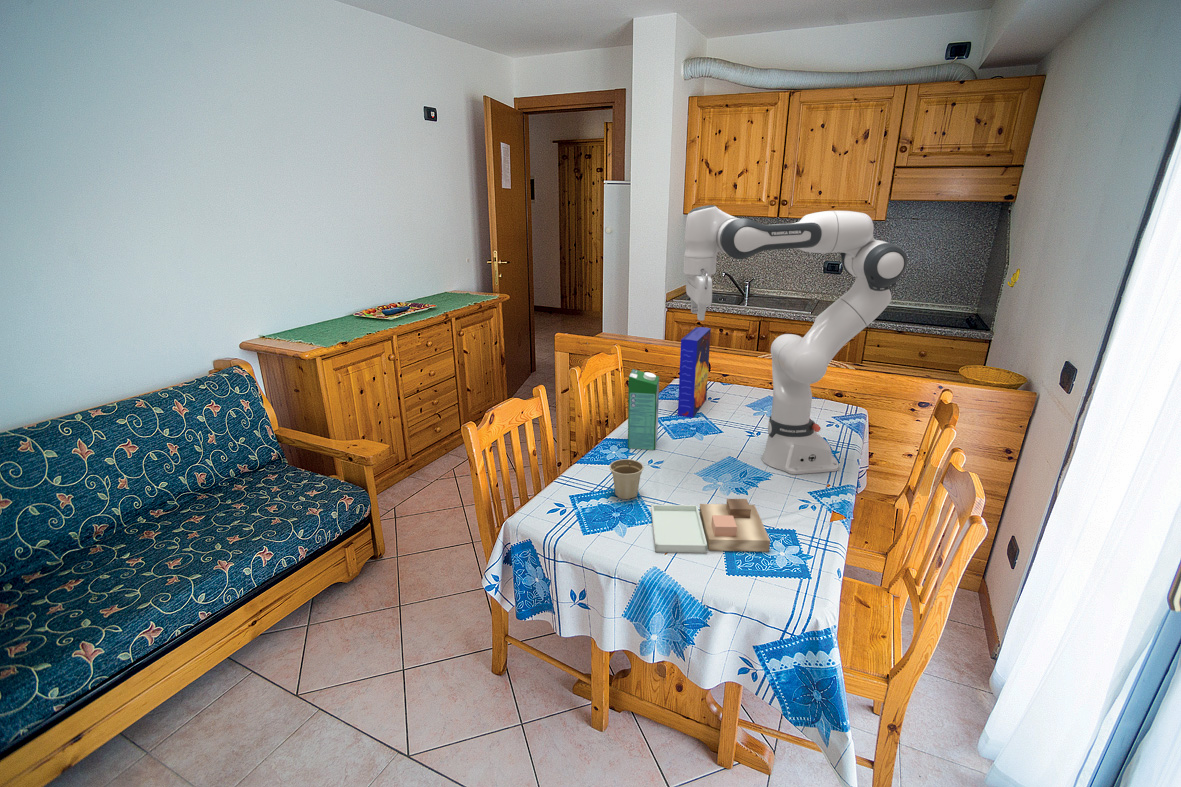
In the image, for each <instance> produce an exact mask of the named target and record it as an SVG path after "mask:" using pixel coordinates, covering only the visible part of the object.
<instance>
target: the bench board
mask: <svg viewBox="0 0 1181 787" xmlns="http://www.w3.org/2000/svg"><path fill="white" fill-rule="evenodd" d="M749 506H750V508H751V515H750V518H734V520H735V523H736V526H737V533H736V536H715V535H714V532H713V528H712V524H711V523H712V515H726V516H729V514H728V511H727V508H726V504H725V503H719V504H718V503H700V504H699V514H700V518H701V522H702V526H703V530H704V534H705V538H706V542H707V551H716V552H717V551H719V552H720V551H724V552H766V553H767V552H770V545H771V539H770V536H769V534H768V532H767V530H766V528H765V525H764V524H763V521H762V518H761V517H760V514H759V513H758V510H757V508H756V506H755V504H749Z"/></svg>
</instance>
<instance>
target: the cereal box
mask: <svg viewBox="0 0 1181 787" xmlns="http://www.w3.org/2000/svg"><path fill="white" fill-rule="evenodd" d="M711 332H712V328H711V327H710V328H709V327H704V326H702V327H701V326H700V327H697V326H696V327H694V328H693V329H691V330H690V332H689V333H687V334H686V335H685V336H683V337H682V338H681V339H680V352H679V353H680V354H679V356H680V357H679V377H678V378H679V380H678V401H677V403H678V404H677V416H678V417H683V418H684V417H685V418H691V419H693V418H694V417H695V416H696V415H697V413H698V412H699V411H700V409H701V408H702V406H703V405H704V404H705V402H706V401H707V397H708V396H707V394H708V380H709V379H708V378H709V362H710V361H709V360H710V350H711V349H710V348H711V345H710V344H711Z"/></svg>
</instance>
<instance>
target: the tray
mask: <svg viewBox="0 0 1181 787" xmlns="http://www.w3.org/2000/svg"><path fill="white" fill-rule="evenodd" d="M650 509H651V510H650V511H651V524H652V532H653V533H652V534H653V544H654V551H655V553H683V554H684V553H690V554H692V553H694V554H695V553H696V554H707V553H708V546H707V542H706V538H705V534H704V530H703V526H702V522H701V518H700V514H699V511H700V509H699V507H698V505H697V504H696V505H695V504H694V505H693V504H651V505H650Z"/></svg>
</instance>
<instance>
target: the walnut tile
mask: <svg viewBox="0 0 1181 787" xmlns="http://www.w3.org/2000/svg"><path fill="white" fill-rule="evenodd" d="M749 505H750V503H749V501H748V499H747V498H726V508H727V511H728V514H729V516H733V517H734V518H750V515H751V508H750V506H749Z"/></svg>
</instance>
